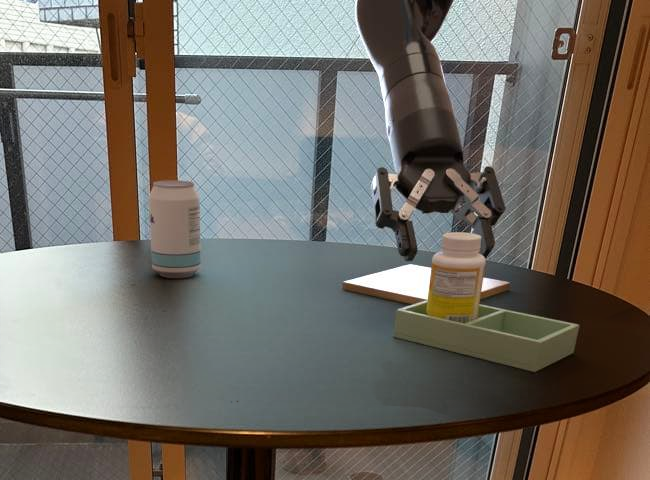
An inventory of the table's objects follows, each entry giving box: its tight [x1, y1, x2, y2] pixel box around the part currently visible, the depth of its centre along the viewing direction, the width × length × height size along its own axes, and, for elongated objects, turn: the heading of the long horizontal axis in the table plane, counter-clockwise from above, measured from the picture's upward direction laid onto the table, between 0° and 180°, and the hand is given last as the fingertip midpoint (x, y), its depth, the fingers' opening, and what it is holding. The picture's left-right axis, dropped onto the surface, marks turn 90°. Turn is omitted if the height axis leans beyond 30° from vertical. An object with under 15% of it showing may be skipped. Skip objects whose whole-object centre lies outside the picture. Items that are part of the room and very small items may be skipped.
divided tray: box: [393, 300, 580, 373], centre depth 86 cm, size 9×17×3 cm, turn 46°
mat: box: [341, 263, 511, 305], centre depth 108 cm, size 16×16×1 cm
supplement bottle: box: [426, 231, 487, 324], centre depth 86 cm, size 6×6×10 cm
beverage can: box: [148, 180, 202, 279], centre depth 111 cm, size 7×7×12 cm
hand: (449, 256), depth 87 cm, fingers open, 8 cm apart
